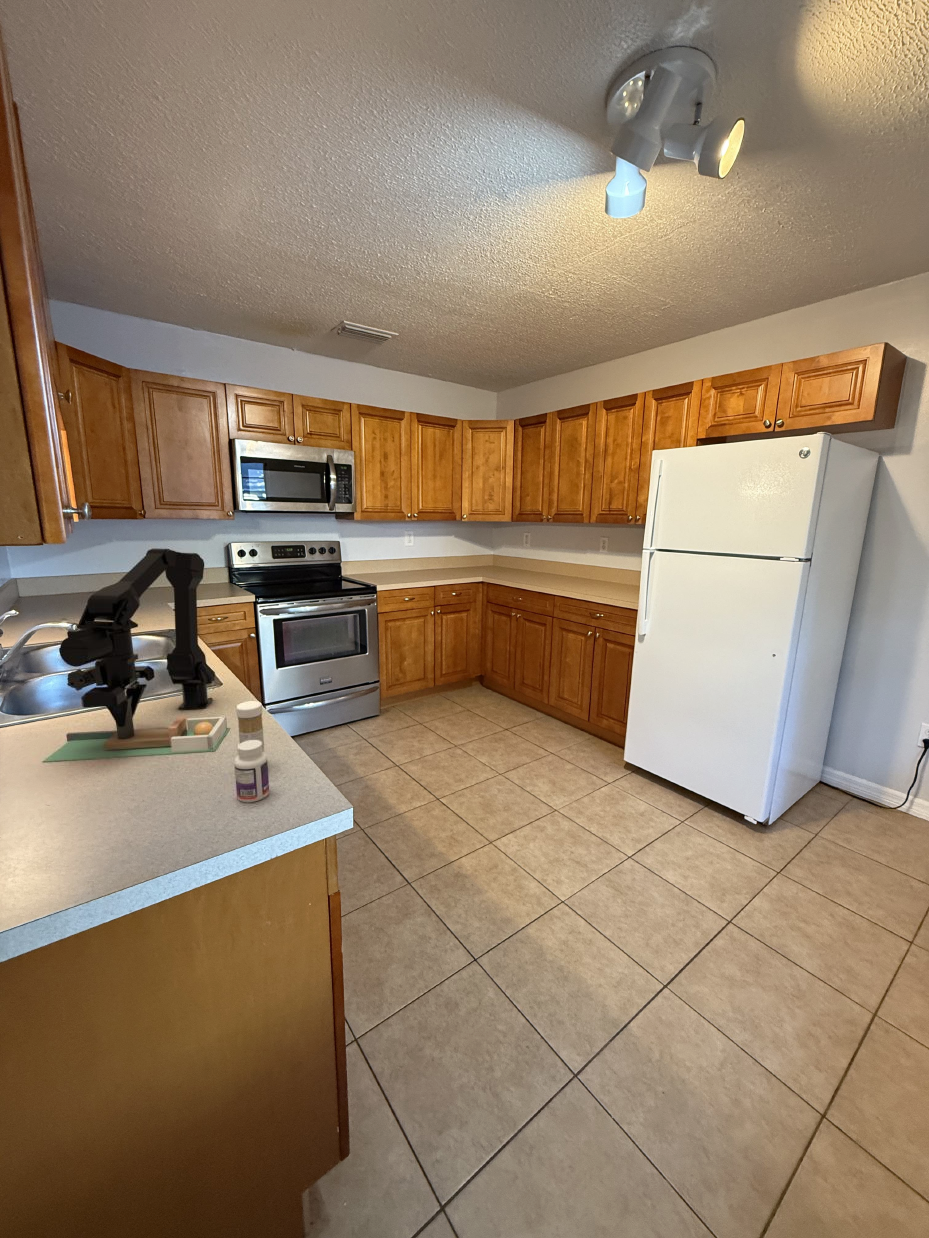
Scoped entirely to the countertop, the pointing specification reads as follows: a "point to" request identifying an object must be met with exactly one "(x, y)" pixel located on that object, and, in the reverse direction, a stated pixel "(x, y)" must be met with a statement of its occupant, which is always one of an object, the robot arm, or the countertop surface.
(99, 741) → the mat
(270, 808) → the countertop surface
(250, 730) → the sprinkles bottle
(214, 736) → the box
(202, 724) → the foosball
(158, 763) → the countertop surface
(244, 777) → the pill bottle
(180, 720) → the striker sled
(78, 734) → the guide rail
